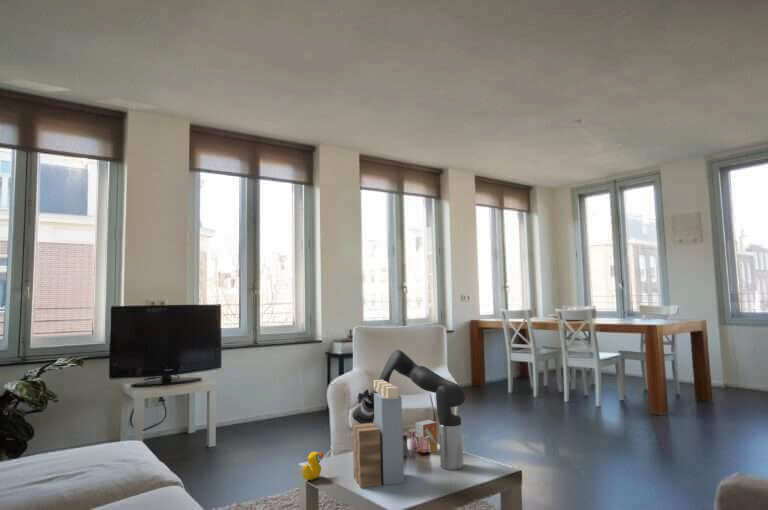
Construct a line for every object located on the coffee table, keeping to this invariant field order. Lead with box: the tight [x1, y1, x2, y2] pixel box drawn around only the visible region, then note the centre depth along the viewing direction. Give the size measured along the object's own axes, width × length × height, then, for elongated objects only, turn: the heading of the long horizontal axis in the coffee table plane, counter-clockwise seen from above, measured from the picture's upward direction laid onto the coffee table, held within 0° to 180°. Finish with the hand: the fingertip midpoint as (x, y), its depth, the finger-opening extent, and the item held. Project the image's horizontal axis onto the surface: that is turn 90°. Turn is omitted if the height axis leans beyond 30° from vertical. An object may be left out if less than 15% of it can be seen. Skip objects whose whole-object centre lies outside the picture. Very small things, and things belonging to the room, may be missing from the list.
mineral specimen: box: [403, 439, 409, 457], centre depth 225 cm, size 7×9×8 cm
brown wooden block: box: [352, 422, 382, 489], centre depth 194 cm, size 12×8×20 cm, turn 15°
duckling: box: [302, 451, 324, 481], centre depth 198 cm, size 11×5×10 cm, turn 150°
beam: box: [373, 379, 399, 399], centre depth 202 cm, size 22×4×4 cm, turn 15°
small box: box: [414, 419, 438, 453], centre depth 231 cm, size 8×6×13 cm
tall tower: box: [374, 393, 405, 486], centre depth 197 cm, size 12×8×32 cm, turn 15°
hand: (377, 390), depth 213 cm, fingers open, 8 cm apart
